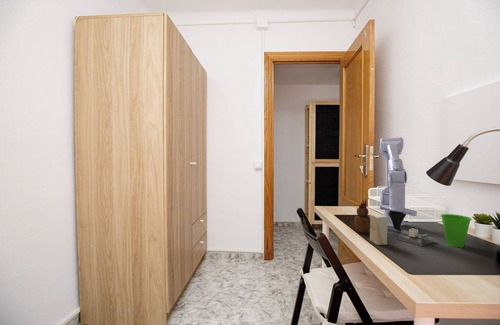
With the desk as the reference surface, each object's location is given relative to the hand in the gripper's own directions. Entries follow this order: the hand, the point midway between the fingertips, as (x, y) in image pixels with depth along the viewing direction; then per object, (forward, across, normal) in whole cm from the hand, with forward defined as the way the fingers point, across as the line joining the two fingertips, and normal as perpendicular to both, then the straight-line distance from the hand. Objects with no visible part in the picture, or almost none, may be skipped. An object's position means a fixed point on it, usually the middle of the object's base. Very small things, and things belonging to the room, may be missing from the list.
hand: (396, 228), depth 101 cm
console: (+3, +2, 0) cm, 4 cm away
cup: (+3, +17, +8) cm, 19 cm away
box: (+3, +1, -15) cm, 15 cm away
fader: (+1, +7, 0) cm, 7 cm away
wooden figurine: (+3, -11, -8) cm, 14 cm away
